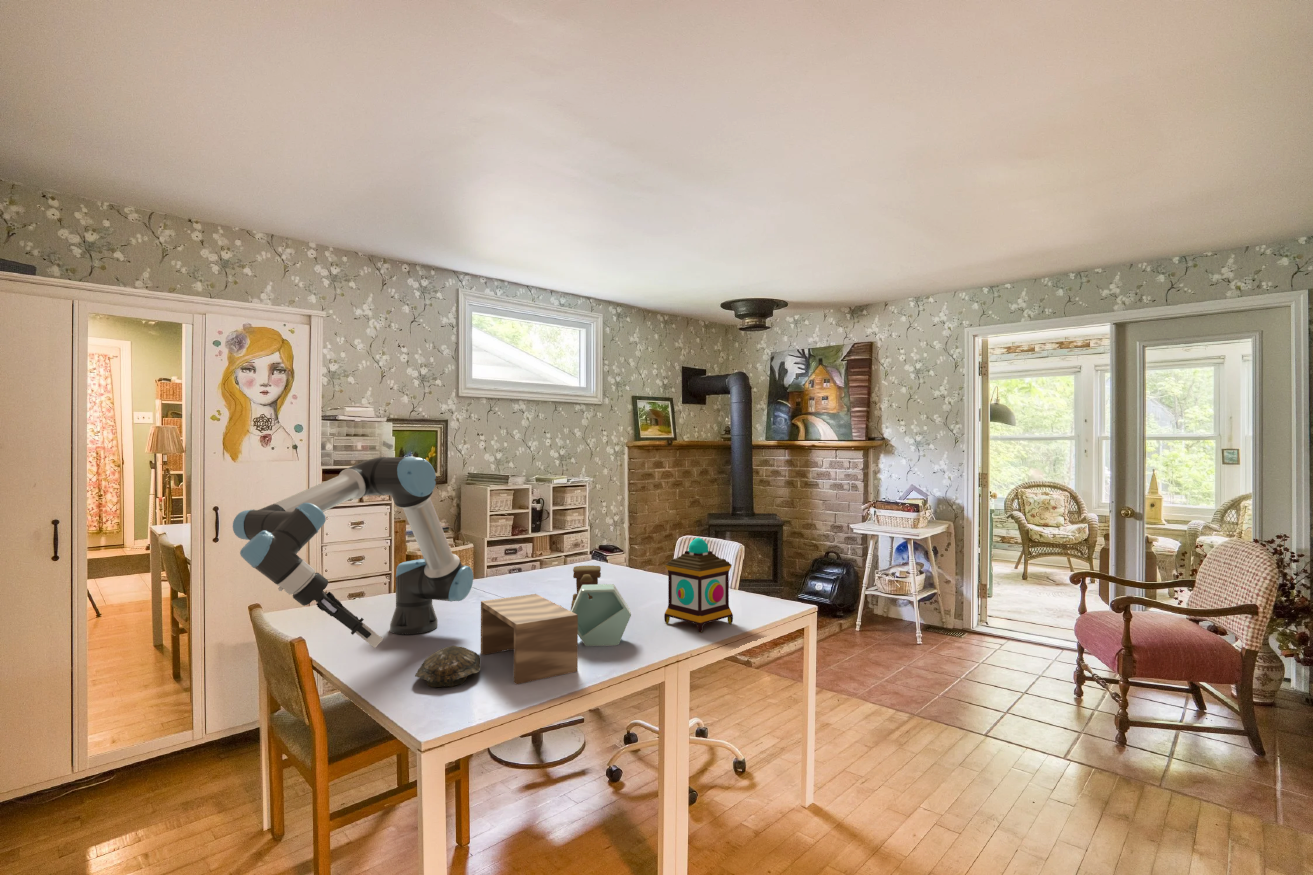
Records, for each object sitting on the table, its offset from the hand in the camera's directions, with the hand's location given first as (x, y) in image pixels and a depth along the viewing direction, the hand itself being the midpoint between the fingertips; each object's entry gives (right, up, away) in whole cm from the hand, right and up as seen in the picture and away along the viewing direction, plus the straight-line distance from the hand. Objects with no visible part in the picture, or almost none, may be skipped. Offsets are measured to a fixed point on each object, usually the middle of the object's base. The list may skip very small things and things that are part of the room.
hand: (378, 642), depth 158 cm
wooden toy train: (+44, -14, +72) cm, 86 cm away
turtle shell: (+15, -13, +10) cm, 22 cm away
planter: (+52, -13, +40) cm, 67 cm away
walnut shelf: (+32, -13, +21) cm, 41 cm away
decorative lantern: (+85, -14, +62) cm, 106 cm away
